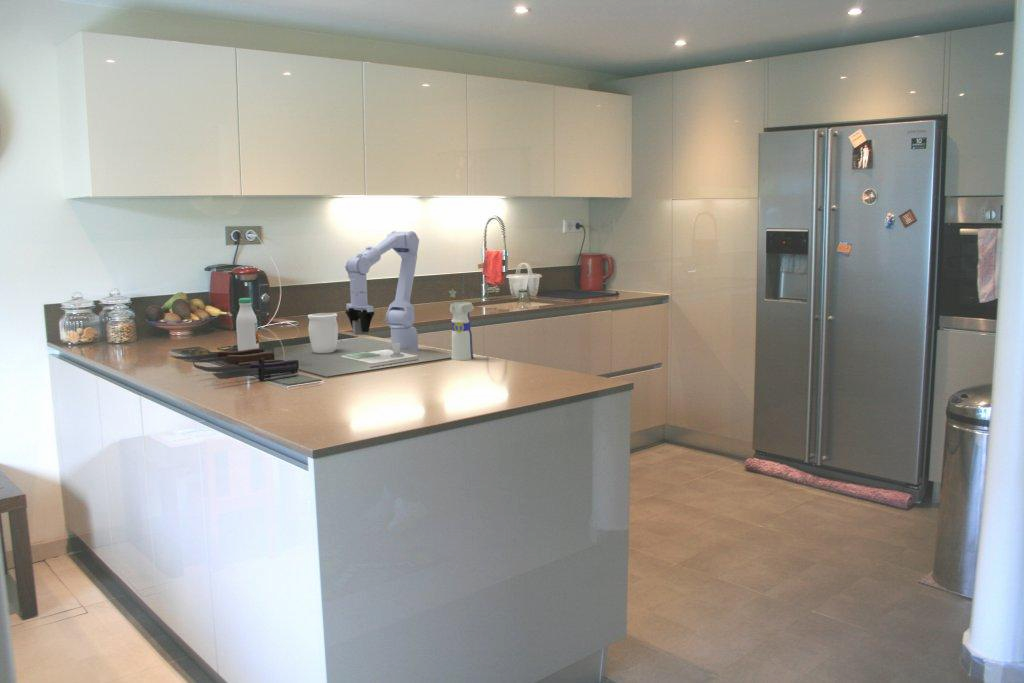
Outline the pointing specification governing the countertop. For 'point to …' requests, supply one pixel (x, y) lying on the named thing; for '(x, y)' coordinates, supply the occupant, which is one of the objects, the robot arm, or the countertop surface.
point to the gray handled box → (357, 327)
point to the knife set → (244, 363)
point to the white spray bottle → (461, 330)
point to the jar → (323, 332)
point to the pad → (361, 355)
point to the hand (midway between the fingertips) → (360, 331)
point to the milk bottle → (246, 326)
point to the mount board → (386, 356)
